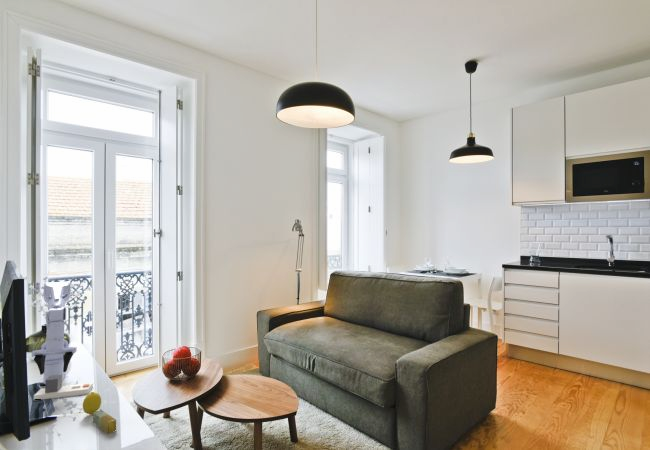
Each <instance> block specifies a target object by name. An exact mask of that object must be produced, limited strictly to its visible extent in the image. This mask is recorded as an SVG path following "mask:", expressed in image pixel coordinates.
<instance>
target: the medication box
mask: <svg viewBox="0 0 650 450" xmlns="http://www.w3.org/2000/svg"><path fill="white" fill-rule="evenodd" d="M92 416H93V417H92V423H93V424H94V425H95V426H97V427H98V428H99V429H101V430H102V431H103V432H105V434H107V435H110V434H112V433H114V432H113V431H115V430H116V431H117V419H116V418H115V417H113V416H112V415H110V414H108V412H105V411H104V410H103V409H101V408H99V409H98V410H97V411H95V412H93V415H92ZM116 431H115V432H116Z"/></svg>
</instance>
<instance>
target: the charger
mask: <svg viewBox="0 0 650 450" xmlns="http://www.w3.org/2000/svg"><path fill="white" fill-rule="evenodd" d="M62 384H63V381H62V374H61V375H52V376H50V377H48V378H47V379H46V384H44V385H45V387H44V388H45V393H51V392H58V390H59V389H60V388H61V387H62V386H63V385H62Z"/></svg>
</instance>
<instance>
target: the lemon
mask: <svg viewBox="0 0 650 450" xmlns="http://www.w3.org/2000/svg"><path fill="white" fill-rule="evenodd" d="M101 404H102V398H101V396H100V394H99V393H97V392H95V391H92V392H89V393H88V394H86V395H85V397H84V399H83V402H82V410H83V412H84V413H86V415H91V416H93V412H95V411H97V410H100V409H101Z"/></svg>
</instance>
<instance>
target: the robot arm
mask: <svg viewBox="0 0 650 450" xmlns="http://www.w3.org/2000/svg"><path fill="white" fill-rule="evenodd" d="M71 285H72V283H71V281H69V280H68V281H56V282H55V281H53V282H49V281H48V282H47V281H45V283H44V284H43V300H44V302H45V303H48V305H47V310H46V312H45V326H46V338H45V339H46V340H45V341H44V342H43V343H42V345H41V346H40V347H41V349H35V350H34V349H33V350H32V351H31V357H33V361H34V362H35V363H36V365H37V367H38V370H39V374H40V375H43V380H42V382H43V383H42V384H44V385H45V384H46V379H47V378H48V377H50V376H52V375H61V374H62V382H63V381H64V380H65V379H64V378H68V377H69V375H66V374H67V371H68V368H69V367H68V366H69V364H70V362H71V359H72V358H73V356H74V354H75V353H77V351H78V349H77V346H69V342H68V340H66V339H65V322H66V320H67V307H66V302H68V301H69V300H70V298H71V297H70V296H71V288H72V287H71Z"/></svg>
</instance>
